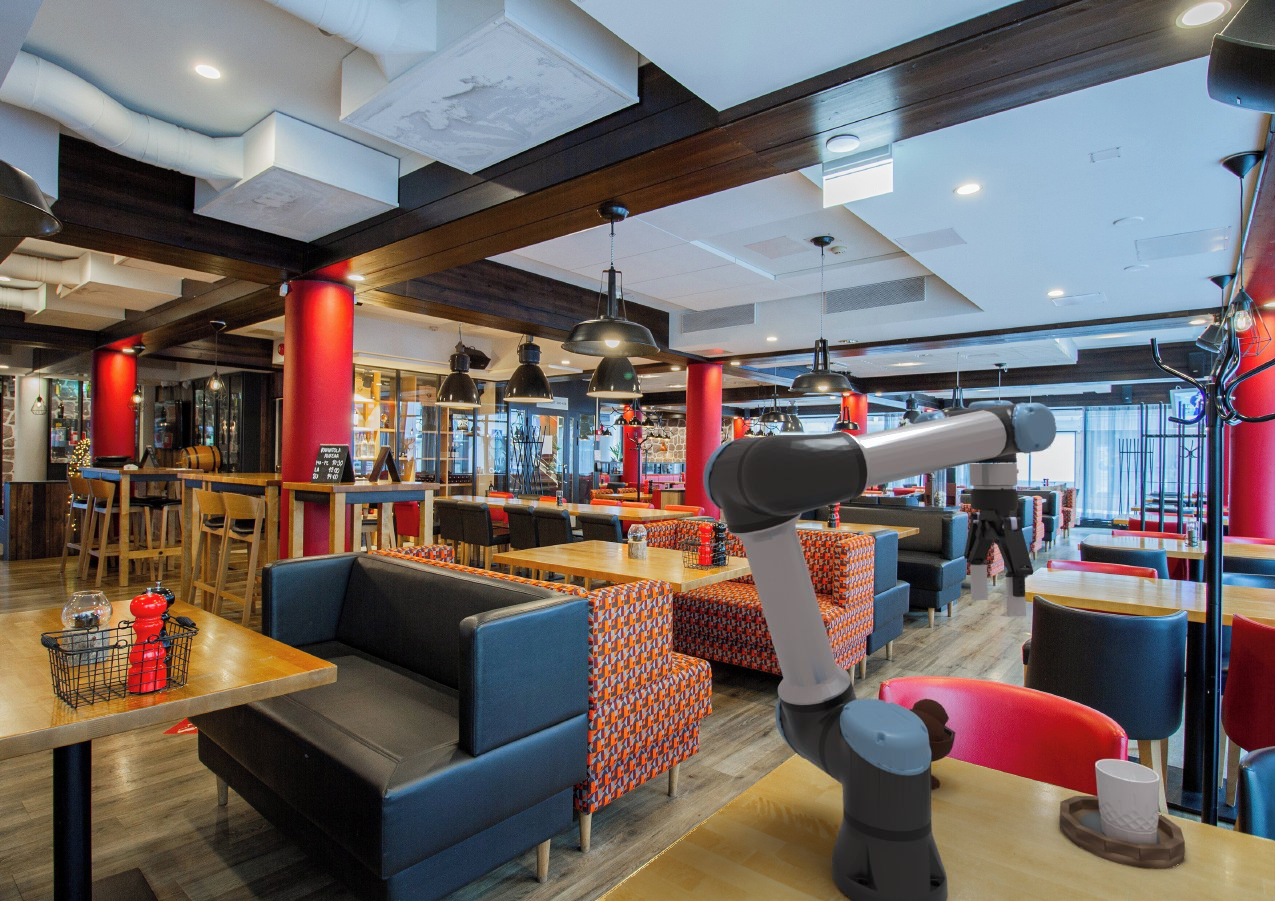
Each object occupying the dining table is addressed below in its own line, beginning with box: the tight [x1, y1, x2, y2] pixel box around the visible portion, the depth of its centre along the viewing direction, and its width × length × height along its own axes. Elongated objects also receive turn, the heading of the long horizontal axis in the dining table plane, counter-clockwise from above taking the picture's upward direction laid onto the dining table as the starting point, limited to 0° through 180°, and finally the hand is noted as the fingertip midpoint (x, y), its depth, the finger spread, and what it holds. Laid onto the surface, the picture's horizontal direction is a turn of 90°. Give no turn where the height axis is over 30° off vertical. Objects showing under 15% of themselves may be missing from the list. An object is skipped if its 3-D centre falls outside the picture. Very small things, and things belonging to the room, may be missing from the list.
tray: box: [1059, 795, 1186, 870], centre depth 104 cm, size 16×16×3 cm
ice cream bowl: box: [909, 698, 956, 791], centre depth 123 cm, size 11×11×15 cm
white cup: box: [1094, 758, 1160, 844], centre depth 101 cm, size 8×8×10 cm
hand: (996, 607), depth 119 cm, fingers open, 13 cm apart
